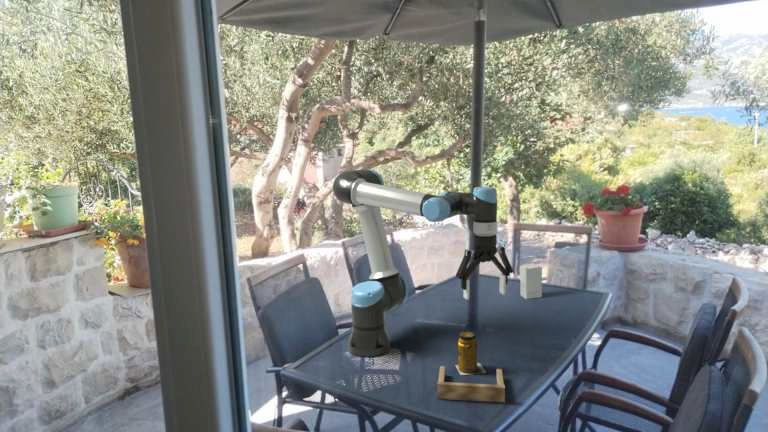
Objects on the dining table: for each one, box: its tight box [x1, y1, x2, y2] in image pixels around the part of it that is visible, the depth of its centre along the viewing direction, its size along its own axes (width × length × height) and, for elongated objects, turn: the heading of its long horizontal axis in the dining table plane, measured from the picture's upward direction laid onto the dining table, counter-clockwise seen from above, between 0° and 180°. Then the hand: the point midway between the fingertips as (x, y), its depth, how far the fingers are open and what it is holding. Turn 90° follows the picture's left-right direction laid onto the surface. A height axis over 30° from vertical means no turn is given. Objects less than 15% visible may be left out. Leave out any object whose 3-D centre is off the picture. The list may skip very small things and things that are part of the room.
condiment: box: [454, 331, 487, 376], centre depth 160 cm, size 7×8×12 cm
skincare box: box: [519, 263, 543, 300], centre depth 229 cm, size 8×6×15 cm
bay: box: [436, 365, 506, 403], centre depth 149 cm, size 19×14×4 cm
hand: (484, 296), depth 166 cm, fingers open, 13 cm apart
